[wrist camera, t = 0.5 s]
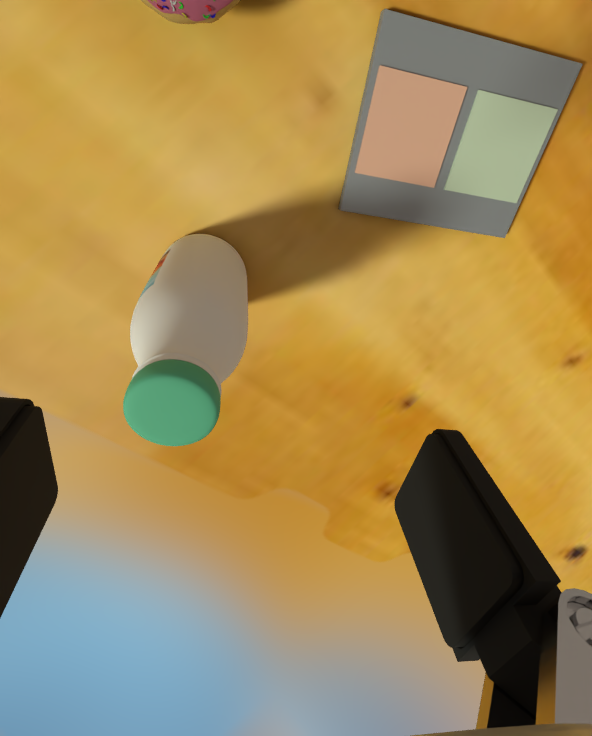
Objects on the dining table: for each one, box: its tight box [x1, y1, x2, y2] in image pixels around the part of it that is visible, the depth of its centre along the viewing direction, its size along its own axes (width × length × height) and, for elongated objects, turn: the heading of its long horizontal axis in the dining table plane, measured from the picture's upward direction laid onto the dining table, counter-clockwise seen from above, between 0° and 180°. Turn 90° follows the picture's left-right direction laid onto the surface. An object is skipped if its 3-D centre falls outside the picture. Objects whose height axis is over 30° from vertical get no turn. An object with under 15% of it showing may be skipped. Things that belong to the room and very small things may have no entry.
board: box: [338, 9, 583, 238], centre depth 31 cm, size 13×16×1 cm
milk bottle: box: [123, 234, 248, 446], centre depth 27 cm, size 8×8×20 cm
